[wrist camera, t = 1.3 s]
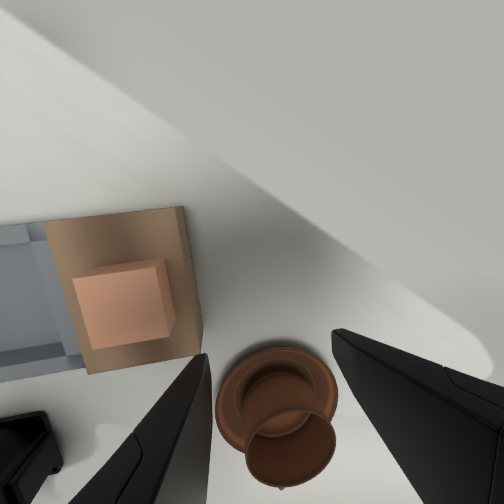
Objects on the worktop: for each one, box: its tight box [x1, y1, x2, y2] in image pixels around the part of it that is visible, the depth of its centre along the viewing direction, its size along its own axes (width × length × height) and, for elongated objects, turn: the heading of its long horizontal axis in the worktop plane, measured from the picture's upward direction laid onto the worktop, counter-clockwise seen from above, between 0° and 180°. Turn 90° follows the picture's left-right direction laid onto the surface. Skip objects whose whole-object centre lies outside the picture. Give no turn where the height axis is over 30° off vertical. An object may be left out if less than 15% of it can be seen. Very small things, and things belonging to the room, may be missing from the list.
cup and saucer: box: [215, 347, 338, 490], centre depth 22 cm, size 12×12×6 cm
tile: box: [72, 258, 176, 350], centre depth 15 cm, size 4×4×2 cm
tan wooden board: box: [43, 206, 203, 375], centre depth 19 cm, size 8×11×4 cm
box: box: [0, 219, 85, 383], centre depth 18 cm, size 10×11×3 cm
